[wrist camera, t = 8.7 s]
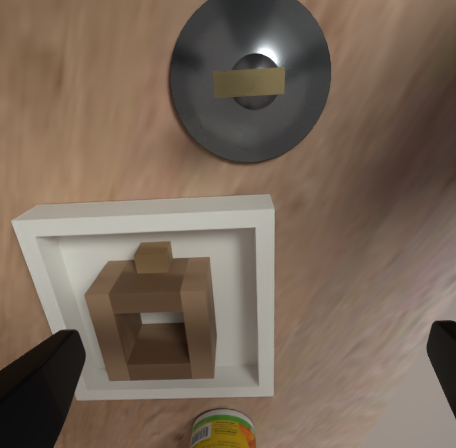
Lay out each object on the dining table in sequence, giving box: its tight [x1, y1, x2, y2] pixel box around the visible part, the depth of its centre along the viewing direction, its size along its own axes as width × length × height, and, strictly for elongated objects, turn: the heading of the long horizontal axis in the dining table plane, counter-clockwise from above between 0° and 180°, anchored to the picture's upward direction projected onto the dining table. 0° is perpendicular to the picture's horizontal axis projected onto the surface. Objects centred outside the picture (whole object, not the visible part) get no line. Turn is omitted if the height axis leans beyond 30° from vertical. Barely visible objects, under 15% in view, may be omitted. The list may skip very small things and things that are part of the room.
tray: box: [11, 194, 275, 401], centre depth 20 cm, size 14×14×2 cm
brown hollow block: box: [84, 241, 217, 381], centre depth 19 cm, size 8×6×4 cm
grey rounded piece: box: [170, 0, 331, 162], centre depth 14 cm, size 8×8×5 cm
